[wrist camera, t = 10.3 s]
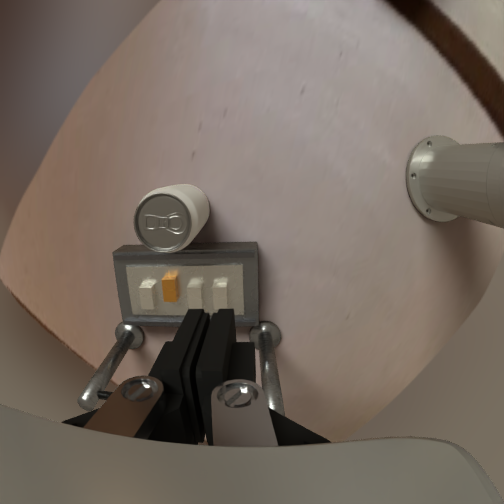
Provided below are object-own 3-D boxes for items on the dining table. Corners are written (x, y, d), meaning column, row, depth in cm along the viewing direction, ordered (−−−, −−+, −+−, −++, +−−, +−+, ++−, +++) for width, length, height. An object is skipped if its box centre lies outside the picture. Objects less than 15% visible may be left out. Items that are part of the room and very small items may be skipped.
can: (209, 234, 41) (195, 258, 29) (161, 232, 41) (130, 255, 29) (211, 184, 39) (197, 188, 28) (161, 183, 39) (129, 187, 28)
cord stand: (280, 320, 44) (298, 397, 28) (279, 347, 45) (295, 428, 29) (114, 320, 44) (63, 385, 27) (119, 345, 45) (75, 415, 28)
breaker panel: (256, 241, 41) (258, 252, 36) (257, 312, 44) (259, 332, 38) (123, 245, 41) (106, 255, 35) (132, 312, 43) (119, 331, 38)
